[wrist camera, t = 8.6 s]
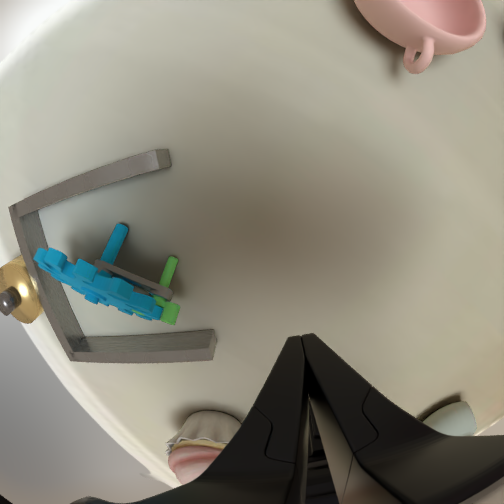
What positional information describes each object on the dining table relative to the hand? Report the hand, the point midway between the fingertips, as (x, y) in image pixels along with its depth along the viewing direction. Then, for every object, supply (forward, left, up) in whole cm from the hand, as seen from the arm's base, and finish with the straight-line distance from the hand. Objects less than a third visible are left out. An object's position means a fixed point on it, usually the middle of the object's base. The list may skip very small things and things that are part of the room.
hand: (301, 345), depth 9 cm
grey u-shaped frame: (0, +17, -12) cm, 20 cm away
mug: (+16, -12, -12) cm, 23 cm away
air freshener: (-29, -19, -12) cm, 37 cm away
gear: (0, +12, -12) cm, 17 cm away
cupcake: (-20, +10, -12) cm, 25 cm away
